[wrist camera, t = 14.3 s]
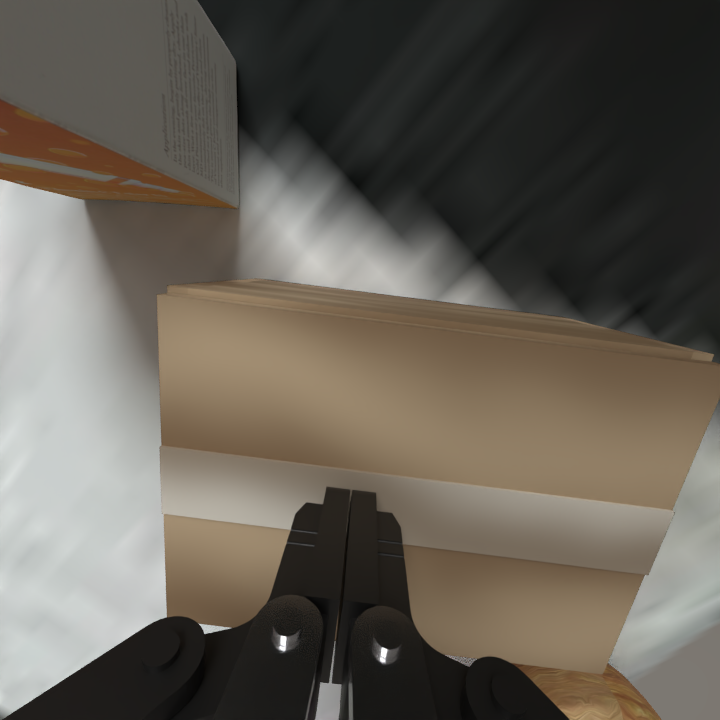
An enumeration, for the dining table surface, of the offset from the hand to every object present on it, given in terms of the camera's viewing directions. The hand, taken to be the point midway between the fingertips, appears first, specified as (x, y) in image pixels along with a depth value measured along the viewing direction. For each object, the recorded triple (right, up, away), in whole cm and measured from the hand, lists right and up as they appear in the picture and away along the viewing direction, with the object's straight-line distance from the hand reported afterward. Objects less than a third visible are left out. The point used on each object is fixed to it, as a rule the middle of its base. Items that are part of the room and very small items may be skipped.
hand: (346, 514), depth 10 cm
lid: (+2, 0, +1) cm, 2 cm away
